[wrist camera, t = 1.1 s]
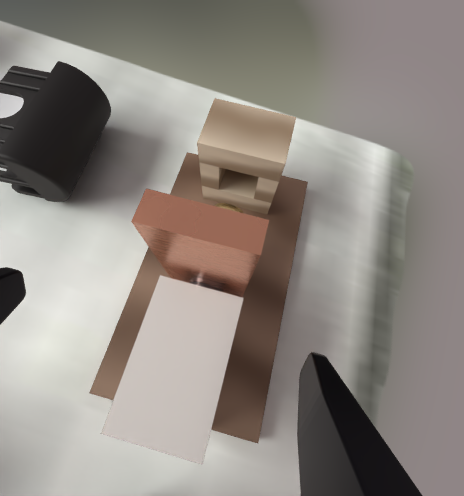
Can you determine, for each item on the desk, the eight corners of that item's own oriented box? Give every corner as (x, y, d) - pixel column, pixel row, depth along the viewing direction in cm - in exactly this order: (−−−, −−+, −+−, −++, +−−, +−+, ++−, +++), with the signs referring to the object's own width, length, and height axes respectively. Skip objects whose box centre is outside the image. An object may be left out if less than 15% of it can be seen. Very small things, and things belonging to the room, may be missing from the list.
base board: (256, 438, 19) (258, 443, 18) (95, 390, 19) (89, 393, 18) (304, 187, 26) (307, 182, 25) (188, 159, 27) (187, 152, 26)
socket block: (267, 214, 24) (285, 164, 17) (203, 198, 24) (197, 142, 18) (276, 176, 25) (296, 117, 19) (215, 162, 26) (214, 98, 19)
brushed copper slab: (211, 418, 16) (200, 511, 7) (134, 396, 17) (25, 456, 7) (258, 229, 21) (289, 134, 12) (198, 213, 21) (181, 108, 12)
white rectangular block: (207, 428, 18) (202, 464, 12) (137, 407, 18) (100, 433, 13) (236, 311, 21) (243, 297, 15) (175, 294, 21) (160, 275, 15)
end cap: (84, 212, 24) (37, 164, 18) (11, 196, 25) (-61, 144, 18) (123, 130, 28) (94, 66, 22) (58, 117, 28) (12, 50, 22)
